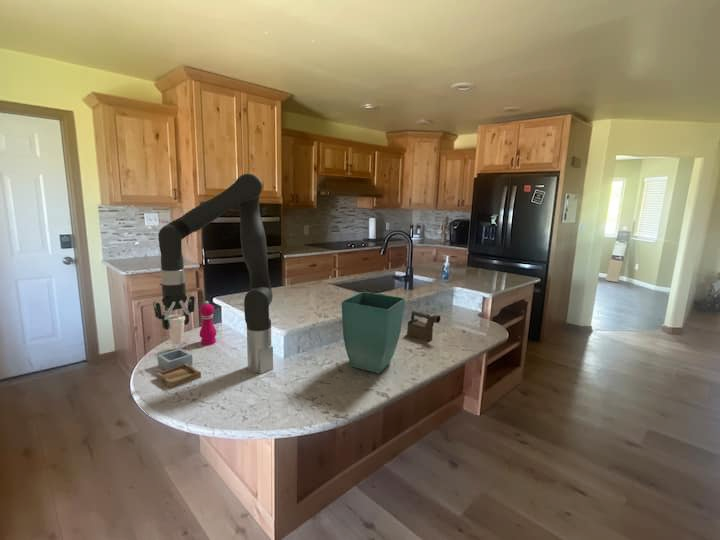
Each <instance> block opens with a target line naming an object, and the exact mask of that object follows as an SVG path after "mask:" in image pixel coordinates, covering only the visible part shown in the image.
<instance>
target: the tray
mask: <svg viewBox="0 0 720 540" xmlns="http://www.w3.org/2000/svg"><path fill="white" fill-rule="evenodd" d="M201 378H202V373H201V371H200V370H198V369H196V368H195V367H193V366H189V365H188V364H183V365H180V366H177V367H174V368H171V369H168V370H162V371H159V372H156V379H157V380H159V381H160V382H161V383H163V384H164V385H165V386H167V387H168V388H170V389H174V388H178V387H180V386H183V385H184V384H188V383H191V382H193V381H197V380H199V379H201Z"/></svg>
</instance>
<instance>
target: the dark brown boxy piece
mask: <svg viewBox="0 0 720 540" xmlns="http://www.w3.org/2000/svg"><path fill="white" fill-rule="evenodd" d="M415 316H416V317H419V318H425V319H426V320H427V321H426V322H425V321H422V320H419V319H418V318H415ZM440 322H441V315H440V314H439V315H430V314H429V313H423V312H419V311H415V310H412V311H411V319H410V320H409V321H407V328H406V329H407V330H406V331H407V332H406V335H407V336H409V337H412V338H416V339H418V340H419V339H420V340H423V341H424V340H425V341H432V340H433V332H434V329H433V327H434V324H435V323H436V324H438V323H440Z"/></svg>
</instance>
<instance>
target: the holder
mask: <svg viewBox="0 0 720 540" xmlns="http://www.w3.org/2000/svg"><path fill="white" fill-rule="evenodd" d="M157 364H158V365H157V366H158V367H160V368H161V369H162V370H163V371H165V370H168V369H171V368H174V367H177V366H180V365H183V364H188V365H189V366H191V367H193V365H194V363H193V354H192V353H191V352H188V351H187V350H184V348H178V349H177V348H176V349H174V350H171V351H168V352H164V353H160V354H157Z"/></svg>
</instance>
